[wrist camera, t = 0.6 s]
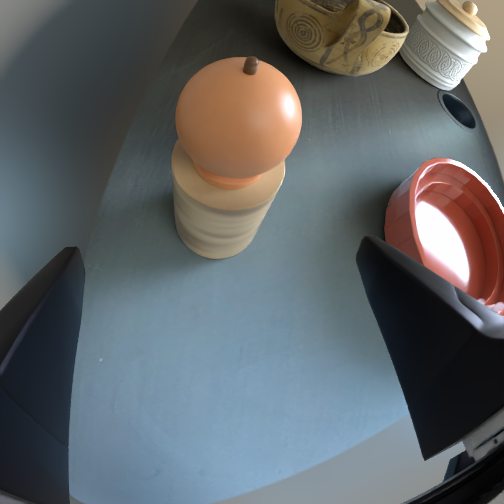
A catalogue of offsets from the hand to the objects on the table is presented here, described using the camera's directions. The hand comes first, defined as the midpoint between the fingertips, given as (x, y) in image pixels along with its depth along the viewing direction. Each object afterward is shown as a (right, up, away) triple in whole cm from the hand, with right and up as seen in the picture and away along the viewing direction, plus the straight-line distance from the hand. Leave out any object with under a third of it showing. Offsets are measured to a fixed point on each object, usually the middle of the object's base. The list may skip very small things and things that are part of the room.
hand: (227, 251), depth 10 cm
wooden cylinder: (-2, +3, +18) cm, 18 cm away
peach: (-1, +6, +9) cm, 11 cm away
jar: (+33, +34, +35) cm, 59 cm away
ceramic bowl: (+11, +27, +29) cm, 41 cm away
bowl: (+22, 0, +22) cm, 31 cm away
